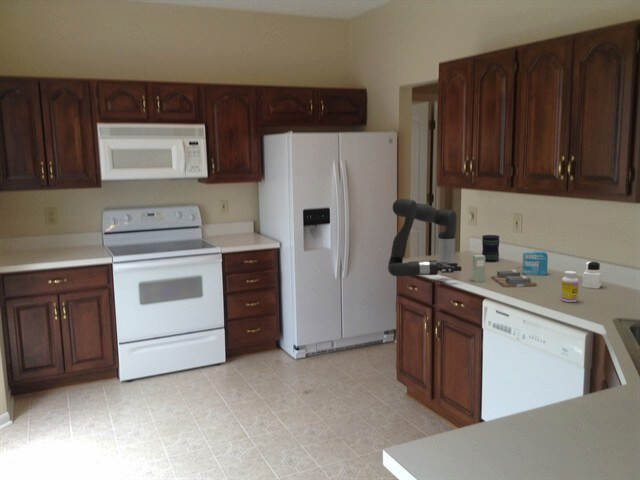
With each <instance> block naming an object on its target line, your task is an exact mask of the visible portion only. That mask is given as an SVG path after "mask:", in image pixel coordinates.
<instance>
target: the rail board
mask: <svg viewBox="0 0 640 480" xmlns="http://www.w3.org/2000/svg"><path fill="white" fill-rule="evenodd" d="M490 278H491V279H492V280H493V281H495V282H496V283H497V284H499V285H500V286H501V287H503V288H517V287H518V288H521V287H522V288H523V287H525V288H526V287H537V285H538V284H537V283H536V282H534V281H533V280H531V277H529V276H526V275H524V274H521V271H518V270H515V269H511V270H497V271H496V275H491V276H490Z"/></svg>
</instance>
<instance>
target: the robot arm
mask: <svg viewBox="0 0 640 480" xmlns="http://www.w3.org/2000/svg"><path fill="white" fill-rule="evenodd" d="M392 211H393V213H394V215H396V216H397V217H402V218H404V222H403V225H402V226H401V229H400V230H399V231H398V232H397V234H396V235H395V237H394V239H393V242H392V245H391V246H392V247H391V254H390V257H389V261H388V266H387V270H388V272H389V274H390V275H391V276H393V277H407V276H436V275H438V274H439V272H441V273H442V274H444V273H445V274H446V273H454V272H462V266H458V263H457V262H456V233H457V221H458V220H457V218H458V217H457V212H456V210H453V209H436V208H435V207H434V206H432V205H430V204H427V203H426V204H425V203H419V202H416V200H414V199H409V198H408V199H407V198H398V199H396V200H395V201H394V202H393V204H392ZM415 220H417V221H420V222H425V223H432V224H435V225H437V226H441V227H446V229H445V230H444V231H441V232H438V239H437V240H438V241H437V243H438V247H437V248H438V249H437V251H438V253H437V255H438V257H437V258H438V259H437V260H435V259H434V260H431V259H429V260H419V261H418V260H417V261H408V262H403V261H404V258H405V255H406V253H407V252H406V250H407V246H408V240H409V237H410V233H411V230H412V228H413V224H414V222H415Z"/></svg>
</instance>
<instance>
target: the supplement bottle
mask: <svg viewBox="0 0 640 480" xmlns="http://www.w3.org/2000/svg"><path fill="white" fill-rule="evenodd" d="M576 276H577V272H576V271H572V270H567V271H564V276H563V277H562V278H561V292H560V294H561V295H560V298H561V299H560V300H561V301H563V302H566V303H576V302H578V298H579V296H578V295H579V279H578V278H577V277H576Z"/></svg>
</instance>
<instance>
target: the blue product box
mask: <svg viewBox="0 0 640 480" xmlns="http://www.w3.org/2000/svg"><path fill="white" fill-rule="evenodd" d="M522 273H523V275H524V276H526V275H529V276H530V275H531V276H546V275H547V273H548V253H547V251H543V250H541V251H539V250H538V251H536V250H535V251H534V250H533V251H531V250H525V251H523V253H522Z"/></svg>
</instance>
